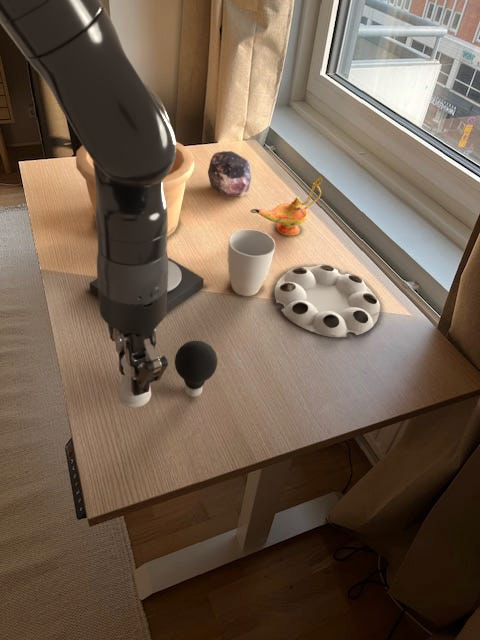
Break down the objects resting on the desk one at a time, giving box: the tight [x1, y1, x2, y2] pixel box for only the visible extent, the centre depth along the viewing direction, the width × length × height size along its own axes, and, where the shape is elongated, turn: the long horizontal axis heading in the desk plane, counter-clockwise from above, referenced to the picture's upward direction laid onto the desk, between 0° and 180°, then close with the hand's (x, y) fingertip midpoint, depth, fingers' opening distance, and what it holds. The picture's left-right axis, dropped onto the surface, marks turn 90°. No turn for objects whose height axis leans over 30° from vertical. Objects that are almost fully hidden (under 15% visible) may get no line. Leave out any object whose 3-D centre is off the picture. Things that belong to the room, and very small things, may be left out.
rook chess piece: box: [117, 355, 152, 409], centre depth 67 cm, size 4×4×8 cm
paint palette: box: [274, 264, 381, 338], centre depth 95 cm, size 20×20×2 cm
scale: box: [89, 257, 205, 313], centre depth 91 cm, size 15×13×3 cm
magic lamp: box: [250, 176, 323, 236], centre depth 107 cm, size 7×18×11 cm, turn 122°
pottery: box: [75, 141, 195, 238], centre depth 103 cm, size 22×22×14 cm
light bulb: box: [174, 339, 218, 398], centre depth 73 cm, size 6×6×10 cm
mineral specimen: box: [207, 150, 252, 198], centre depth 117 cm, size 10×10×10 cm
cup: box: [227, 228, 276, 297], centre depth 92 cm, size 8×8×10 cm
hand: (134, 381), depth 68 cm, fingers closed on rook chess piece, 3 cm apart
